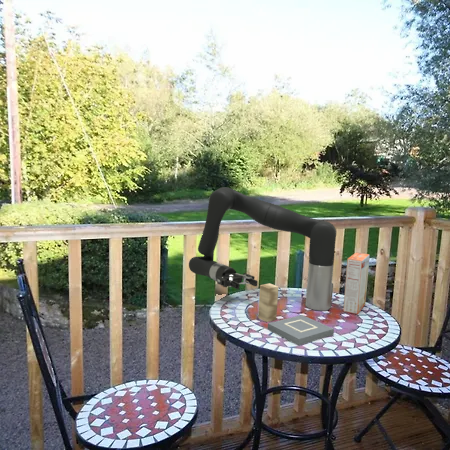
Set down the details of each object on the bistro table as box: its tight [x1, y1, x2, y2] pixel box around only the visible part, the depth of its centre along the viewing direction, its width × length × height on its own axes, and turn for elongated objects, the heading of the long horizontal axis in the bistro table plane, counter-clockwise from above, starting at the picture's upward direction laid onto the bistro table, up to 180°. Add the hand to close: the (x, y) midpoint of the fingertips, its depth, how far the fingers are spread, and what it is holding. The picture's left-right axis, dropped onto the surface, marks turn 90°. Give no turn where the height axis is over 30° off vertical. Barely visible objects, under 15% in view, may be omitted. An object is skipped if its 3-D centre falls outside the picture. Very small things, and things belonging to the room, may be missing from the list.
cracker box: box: [342, 252, 370, 315], centre depth 156 cm, size 14×6×21 cm, turn 150°
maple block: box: [257, 282, 279, 323], centre depth 141 cm, size 4×4×12 cm
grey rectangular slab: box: [267, 314, 335, 346], centre depth 131 cm, size 16×14×2 cm
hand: (247, 285), depth 149 cm, fingers open, 8 cm apart
